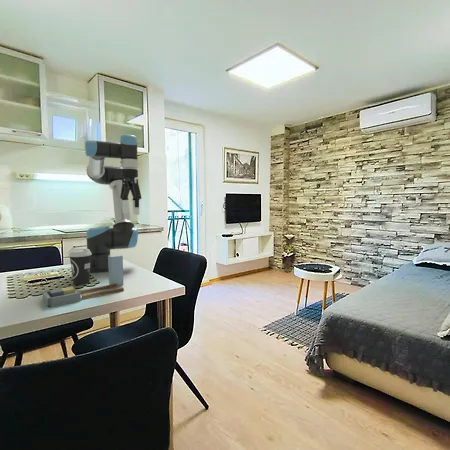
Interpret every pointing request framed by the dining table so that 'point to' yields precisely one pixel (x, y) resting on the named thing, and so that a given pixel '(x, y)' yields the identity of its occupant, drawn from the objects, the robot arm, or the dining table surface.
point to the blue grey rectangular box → (115, 269)
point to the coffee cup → (80, 265)
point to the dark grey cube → (56, 293)
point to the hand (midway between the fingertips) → (130, 214)
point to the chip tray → (60, 298)
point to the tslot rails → (100, 291)
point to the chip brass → (69, 290)
